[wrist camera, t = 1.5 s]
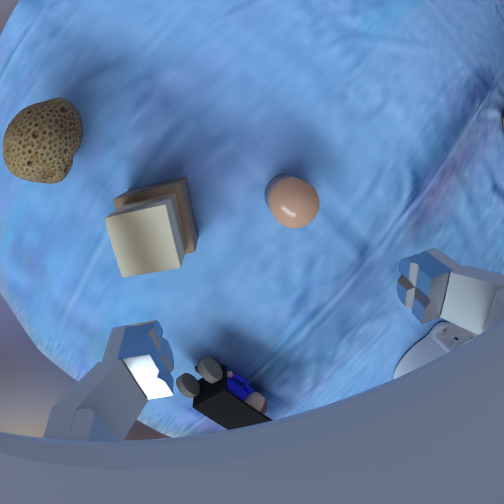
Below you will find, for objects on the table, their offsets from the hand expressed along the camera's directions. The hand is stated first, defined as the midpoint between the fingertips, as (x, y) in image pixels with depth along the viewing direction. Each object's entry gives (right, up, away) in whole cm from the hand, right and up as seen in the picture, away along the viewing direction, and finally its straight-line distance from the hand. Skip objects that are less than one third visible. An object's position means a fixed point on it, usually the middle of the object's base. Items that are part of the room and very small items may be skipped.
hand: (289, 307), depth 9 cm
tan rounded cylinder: (+3, +8, +24) cm, 25 cm away
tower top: (-11, +4, +19) cm, 22 cm away
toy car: (-5, -18, +34) cm, 39 cm away
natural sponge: (-23, +15, +19) cm, 33 cm away
